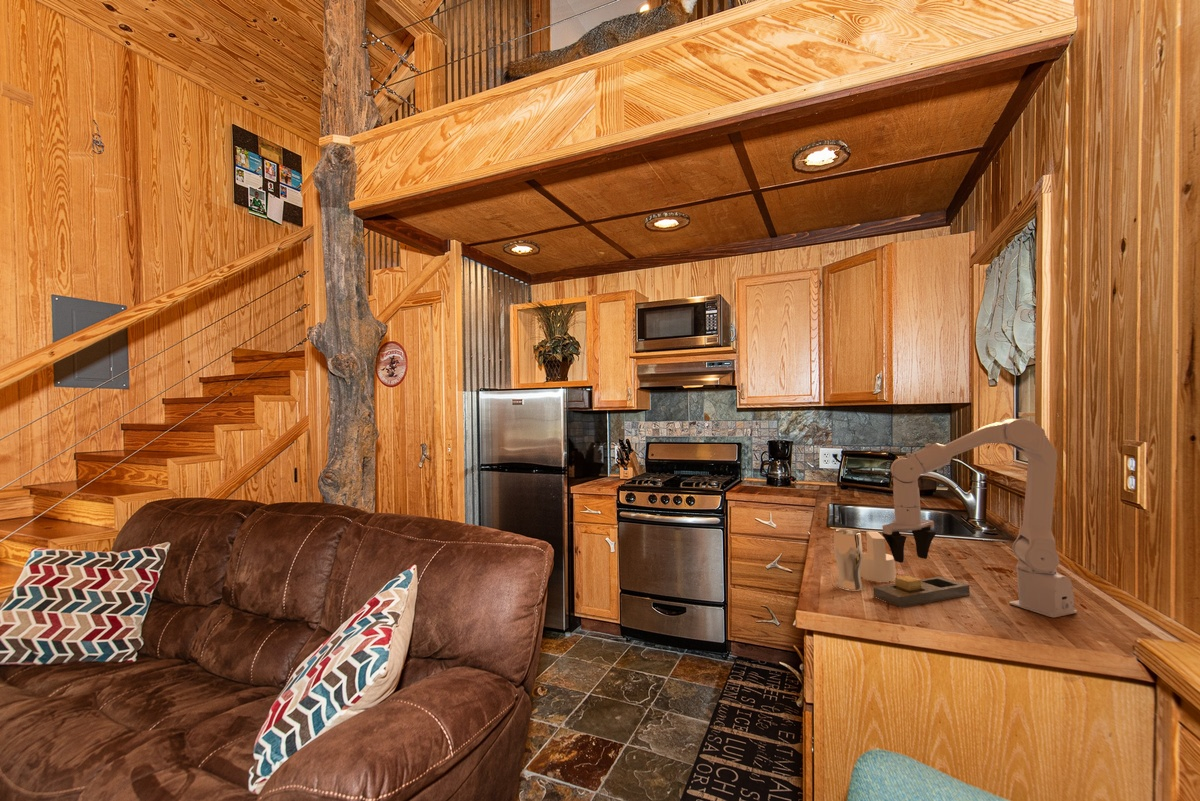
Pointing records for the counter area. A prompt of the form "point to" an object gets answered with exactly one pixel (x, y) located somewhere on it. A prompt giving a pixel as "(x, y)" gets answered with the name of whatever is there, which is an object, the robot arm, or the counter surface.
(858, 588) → the beer glass
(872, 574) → the cylinder with rectangular tab
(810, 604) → the counter surface
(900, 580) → the golden brown block
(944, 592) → the grey slotted board
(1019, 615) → the counter surface
